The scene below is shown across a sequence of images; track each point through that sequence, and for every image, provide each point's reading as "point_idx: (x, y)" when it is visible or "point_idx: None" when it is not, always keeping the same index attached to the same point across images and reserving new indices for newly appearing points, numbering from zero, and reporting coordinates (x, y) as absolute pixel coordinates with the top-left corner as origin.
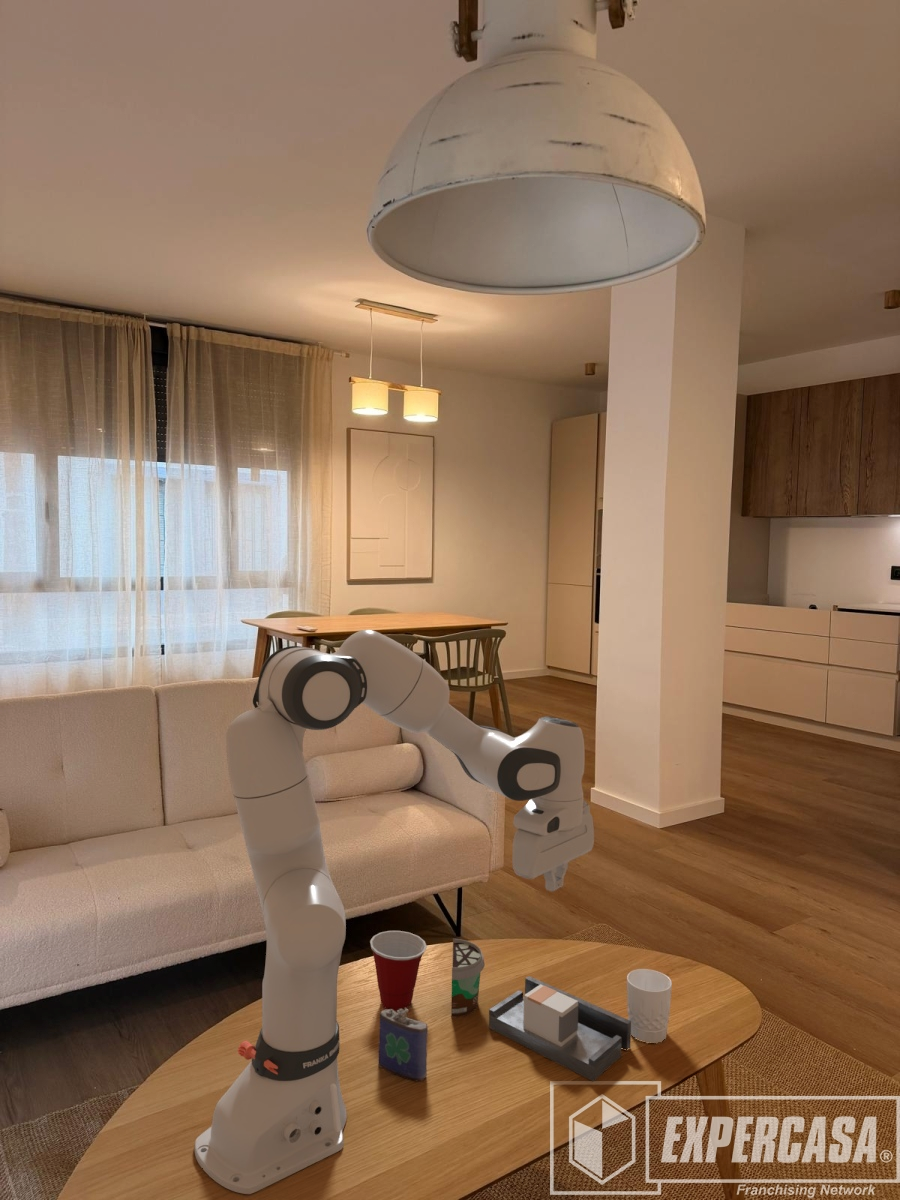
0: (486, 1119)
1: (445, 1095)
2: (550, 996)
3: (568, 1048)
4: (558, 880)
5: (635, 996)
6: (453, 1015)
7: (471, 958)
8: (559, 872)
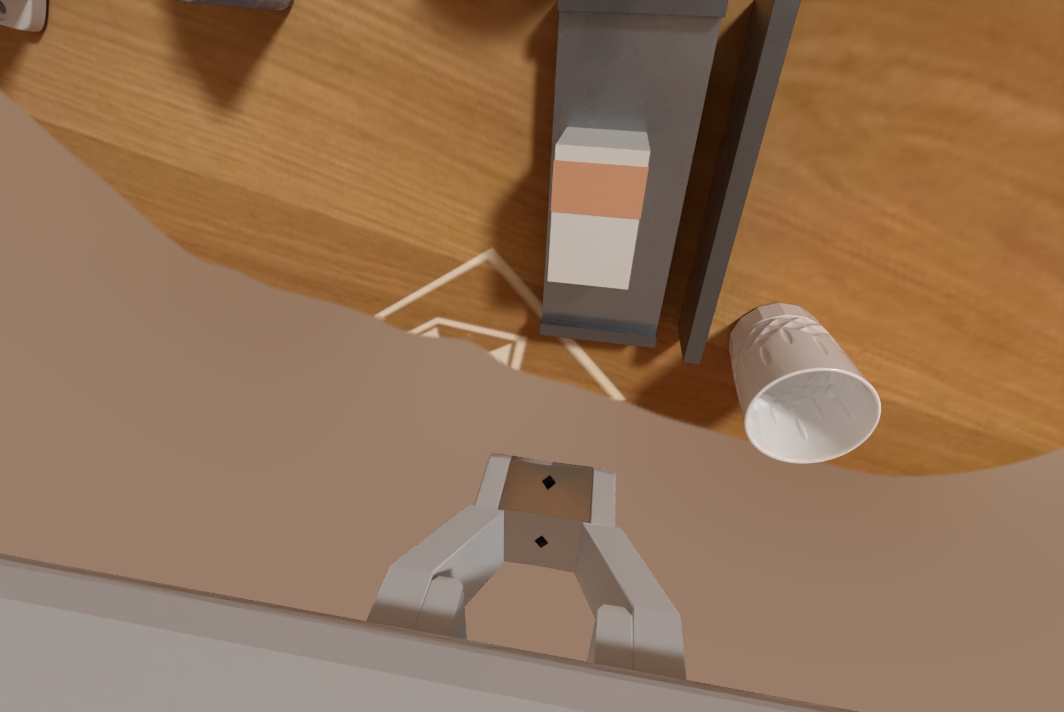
0: (320, 208)
1: (295, 94)
2: (601, 216)
3: None
4: (534, 563)
5: (745, 387)
6: None
7: None
8: (594, 590)
